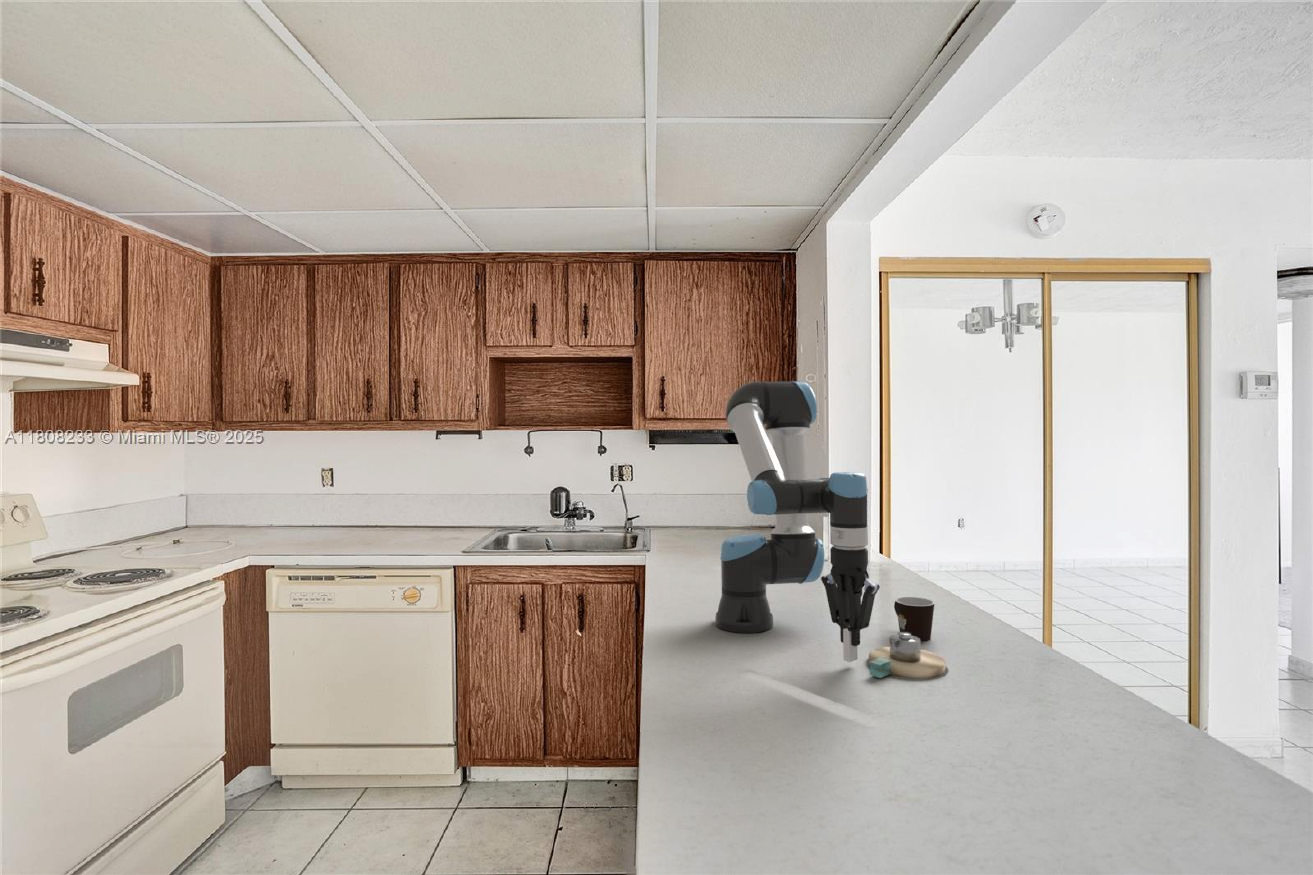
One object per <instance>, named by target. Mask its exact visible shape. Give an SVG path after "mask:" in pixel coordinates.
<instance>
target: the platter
mask: <svg viewBox="0 0 1313 875" xmlns="http://www.w3.org/2000/svg"><path fill="white" fill-rule="evenodd" d="M920 650H921V660H920V661H919V662H914V663H906V662H899V661H896V660H893V659H892V658H890V646H883V647H878V648H874V649H872V650H870V651H869V653H868V658H869V665H870V667H869V675H870V676H872V677H875V678H879V679H882V678H884V677H886V676H887V675H892V676H896V677H902V678H911V679H928V678H935V677H938V676H941V675H943V674H944V673H945V671H946V666H947V665H946V664H947V663H946V660H945V659H944V658H943V657H942V656H941V655H939V654H937V653H935V652H931V651H928V650H924V649H921V648H920Z"/></svg>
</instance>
